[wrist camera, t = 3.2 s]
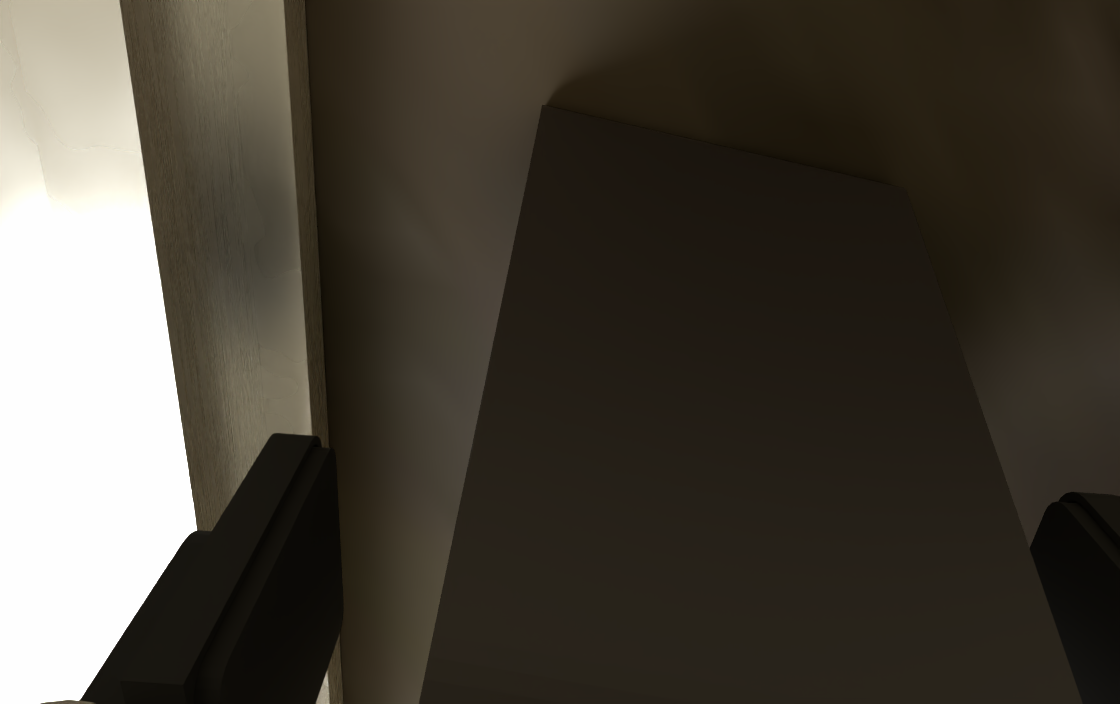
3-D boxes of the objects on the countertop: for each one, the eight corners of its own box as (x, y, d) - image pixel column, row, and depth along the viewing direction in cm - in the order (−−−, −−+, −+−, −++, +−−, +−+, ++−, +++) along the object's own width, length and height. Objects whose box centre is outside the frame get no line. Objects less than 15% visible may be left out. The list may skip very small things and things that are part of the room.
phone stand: (544, 98, 13) (400, 789, 2) (899, 183, 14) (2076, 1064, 3) (450, 538, 17) (237, 1545, 6) (729, 591, 18) (969, 1608, 7)
